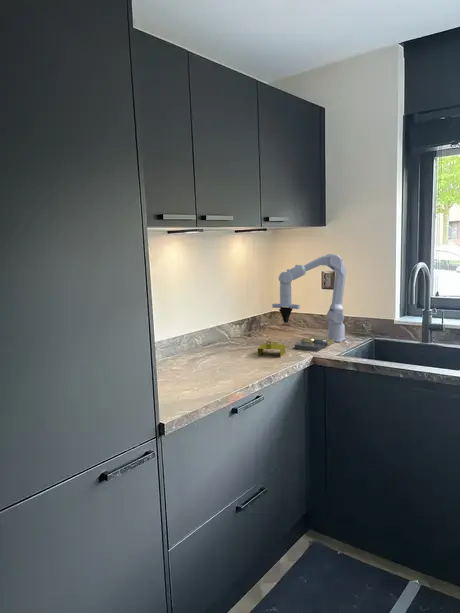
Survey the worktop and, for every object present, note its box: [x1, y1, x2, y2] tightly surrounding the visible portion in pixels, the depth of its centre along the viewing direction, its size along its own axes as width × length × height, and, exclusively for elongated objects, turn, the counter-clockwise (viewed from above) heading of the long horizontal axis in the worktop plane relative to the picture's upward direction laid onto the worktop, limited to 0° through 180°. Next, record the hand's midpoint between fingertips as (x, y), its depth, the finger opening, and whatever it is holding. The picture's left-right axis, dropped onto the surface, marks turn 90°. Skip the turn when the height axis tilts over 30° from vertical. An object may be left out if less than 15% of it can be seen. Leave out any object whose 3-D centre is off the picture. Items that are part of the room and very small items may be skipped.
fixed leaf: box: [294, 339, 330, 352], centre depth 219 cm, size 13×12×3 cm
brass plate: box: [300, 336, 335, 347], centre depth 227 cm, size 13×12×3 cm
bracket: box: [257, 340, 286, 358], centre depth 211 cm, size 16×8×15 cm
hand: (286, 322), depth 232 cm, fingers closed
